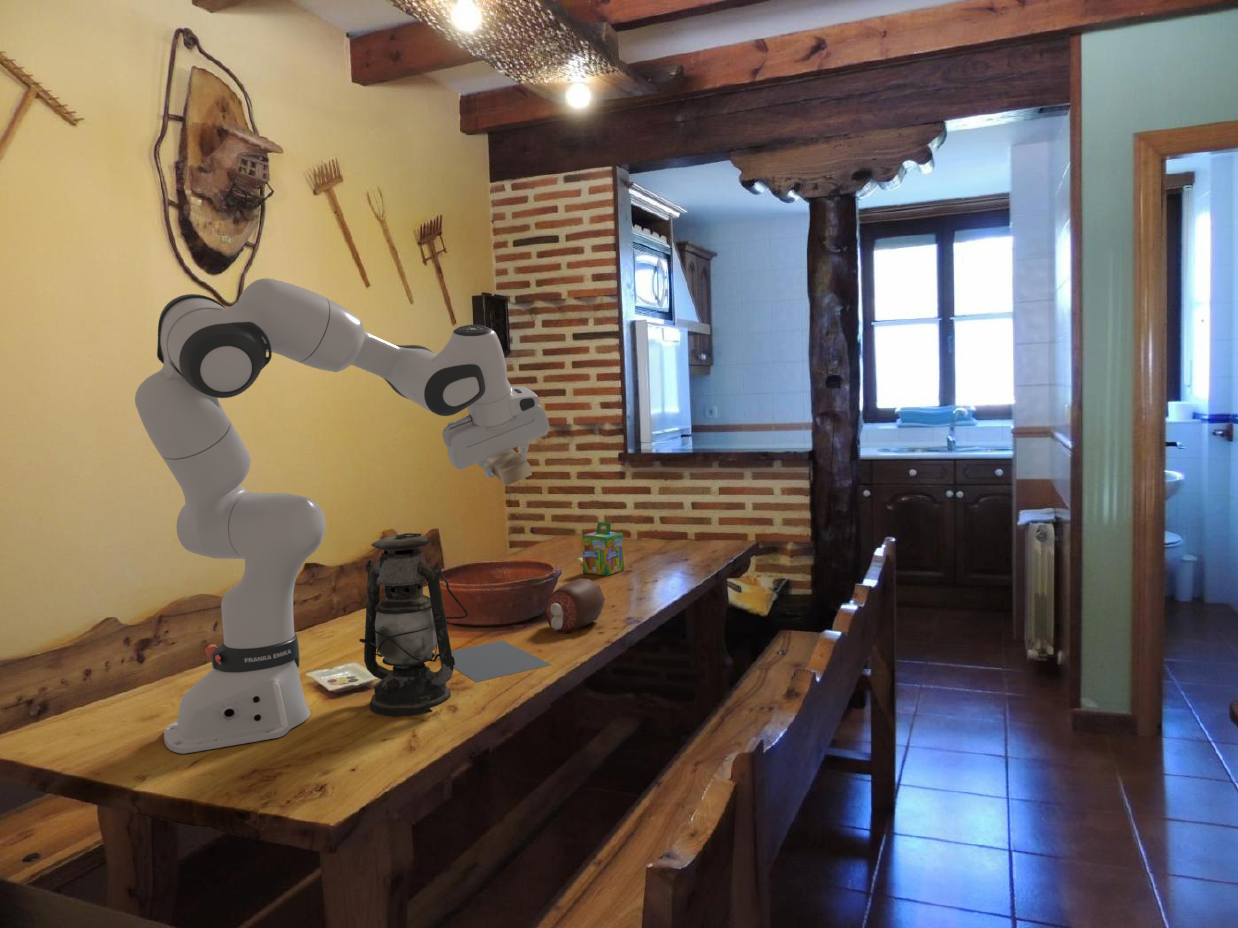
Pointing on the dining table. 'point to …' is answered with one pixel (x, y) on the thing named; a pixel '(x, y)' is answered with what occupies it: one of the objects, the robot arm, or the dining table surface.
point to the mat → (494, 661)
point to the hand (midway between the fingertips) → (506, 469)
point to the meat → (574, 605)
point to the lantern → (406, 629)
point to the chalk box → (603, 551)
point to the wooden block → (509, 467)
